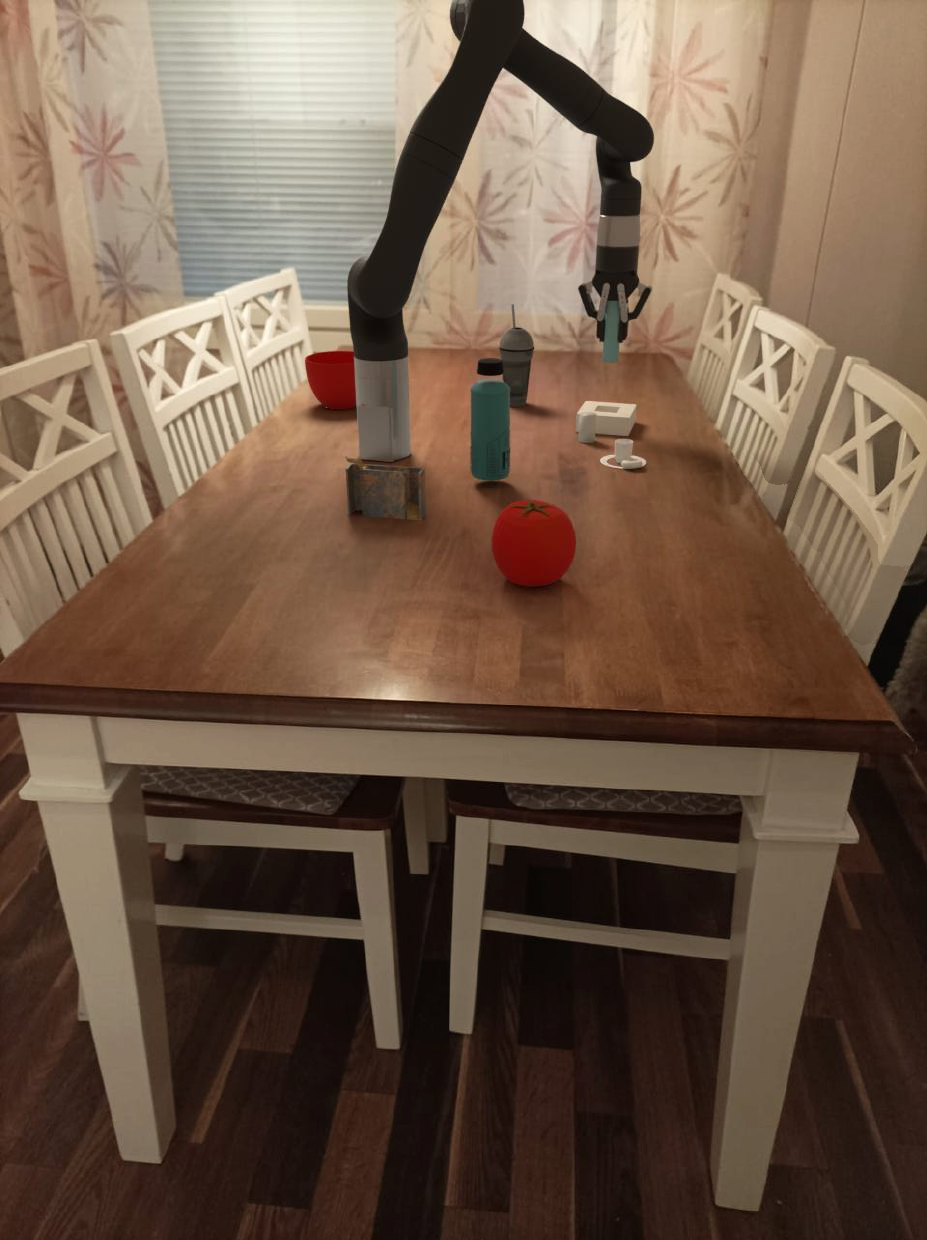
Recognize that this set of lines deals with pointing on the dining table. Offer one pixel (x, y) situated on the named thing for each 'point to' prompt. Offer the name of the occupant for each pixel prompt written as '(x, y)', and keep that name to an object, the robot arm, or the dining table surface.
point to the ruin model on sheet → (385, 490)
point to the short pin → (587, 427)
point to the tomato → (533, 543)
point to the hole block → (610, 417)
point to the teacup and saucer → (624, 456)
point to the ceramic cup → (332, 378)
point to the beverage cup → (516, 362)
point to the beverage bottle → (490, 423)
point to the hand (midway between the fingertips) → (611, 341)
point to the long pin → (611, 332)
